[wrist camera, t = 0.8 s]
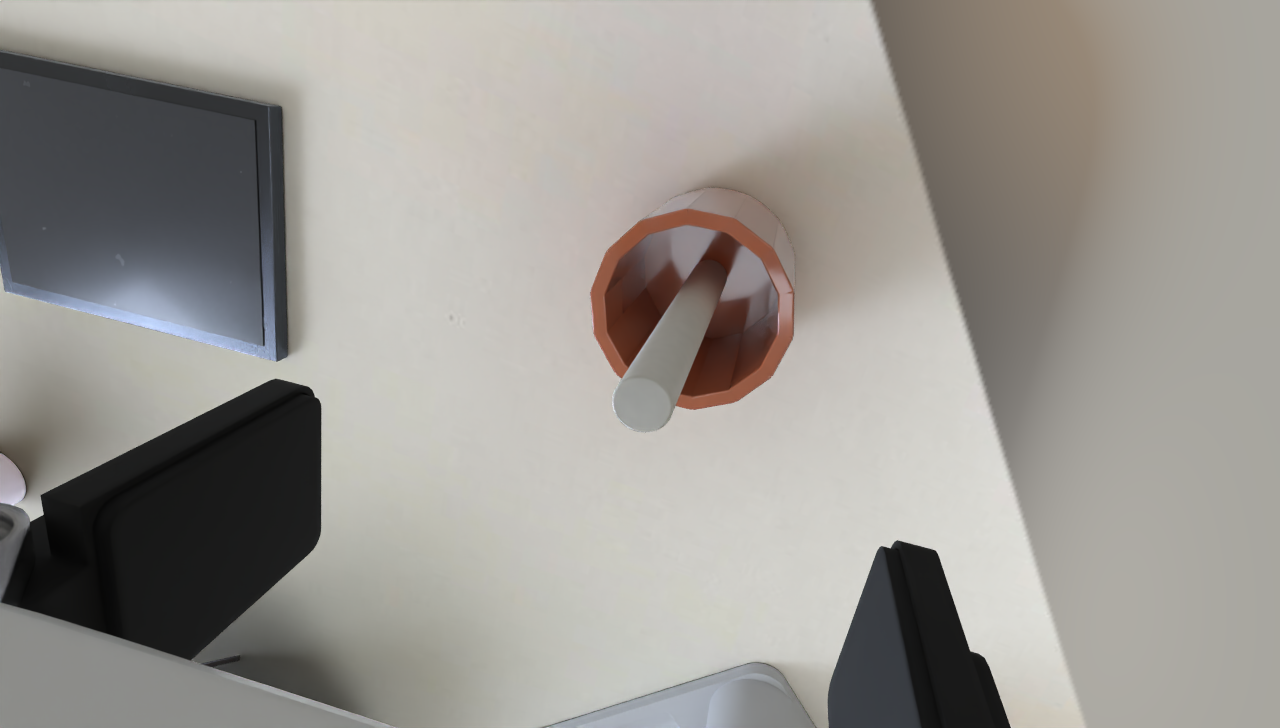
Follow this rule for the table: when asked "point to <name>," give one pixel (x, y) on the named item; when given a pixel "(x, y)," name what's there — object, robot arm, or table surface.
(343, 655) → the table surface
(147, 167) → the tablet
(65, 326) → the table surface
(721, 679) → the phone holder
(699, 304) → the stylus
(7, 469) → the smoothie
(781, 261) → the pencil cup
